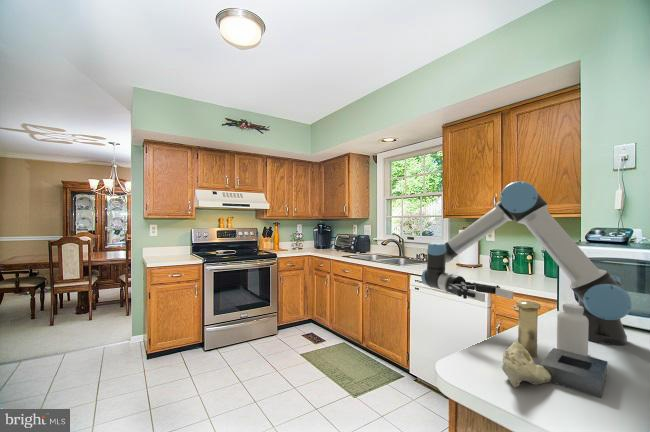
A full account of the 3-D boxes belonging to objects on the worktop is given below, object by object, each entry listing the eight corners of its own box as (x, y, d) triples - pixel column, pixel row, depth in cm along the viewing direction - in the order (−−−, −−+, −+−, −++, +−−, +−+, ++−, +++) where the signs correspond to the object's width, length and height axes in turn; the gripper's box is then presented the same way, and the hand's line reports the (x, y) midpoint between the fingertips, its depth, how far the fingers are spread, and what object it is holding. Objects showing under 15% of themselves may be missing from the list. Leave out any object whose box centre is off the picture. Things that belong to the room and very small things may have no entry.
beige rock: (525, 376, 88) (481, 339, 90) (547, 363, 85) (502, 325, 86) (538, 423, 74) (486, 379, 76) (565, 410, 71) (511, 364, 73)
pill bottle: (594, 359, 96) (594, 309, 96) (564, 356, 98) (565, 307, 98) (579, 349, 104) (579, 303, 104) (551, 346, 106) (552, 301, 106)
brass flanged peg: (527, 349, 102) (528, 300, 103) (545, 357, 96) (545, 305, 96) (510, 350, 101) (511, 300, 101) (527, 359, 95) (528, 305, 95)
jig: (553, 361, 94) (553, 347, 94) (607, 376, 85) (607, 361, 85) (540, 378, 83) (540, 363, 83) (601, 398, 74) (601, 381, 74)
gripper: (474, 291, 132) (523, 305, 113) (427, 294, 123) (471, 310, 103) (475, 273, 132) (524, 284, 113) (428, 275, 123) (471, 287, 103)
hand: (498, 296), depth 108 cm, fingers open, 13 cm apart
